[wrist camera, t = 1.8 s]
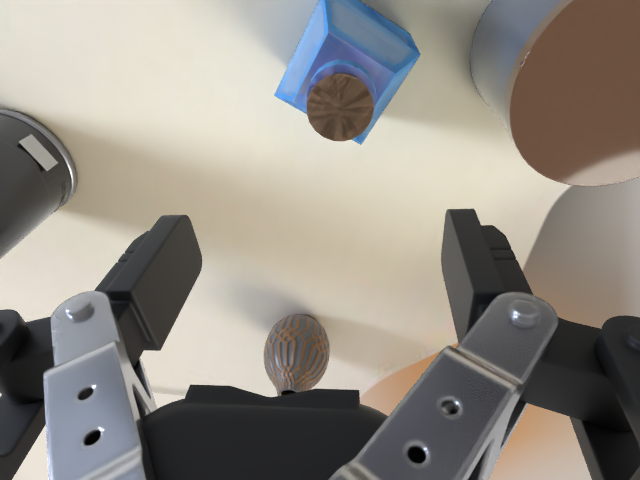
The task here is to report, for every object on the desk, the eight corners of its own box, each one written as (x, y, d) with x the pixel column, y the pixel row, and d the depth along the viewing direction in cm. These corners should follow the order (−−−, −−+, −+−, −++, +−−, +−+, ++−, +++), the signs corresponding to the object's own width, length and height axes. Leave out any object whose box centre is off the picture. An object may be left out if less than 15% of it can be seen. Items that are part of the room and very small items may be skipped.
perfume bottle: (361, 112, 31) (360, 189, 21) (288, 69, 30) (253, 131, 20) (409, 33, 28) (435, 84, 18) (330, -19, 26) (312, 5, 17)
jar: (435, 55, 28) (465, 102, 20) (576, -97, 23) (694, -115, 15) (526, 147, 32) (584, 219, 24) (667, 33, 26) (805, 76, 18)
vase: (299, 295, 43) (287, 364, 36) (344, 329, 46) (340, 400, 39) (258, 323, 46) (240, 392, 39) (302, 353, 49) (291, 423, 42)
